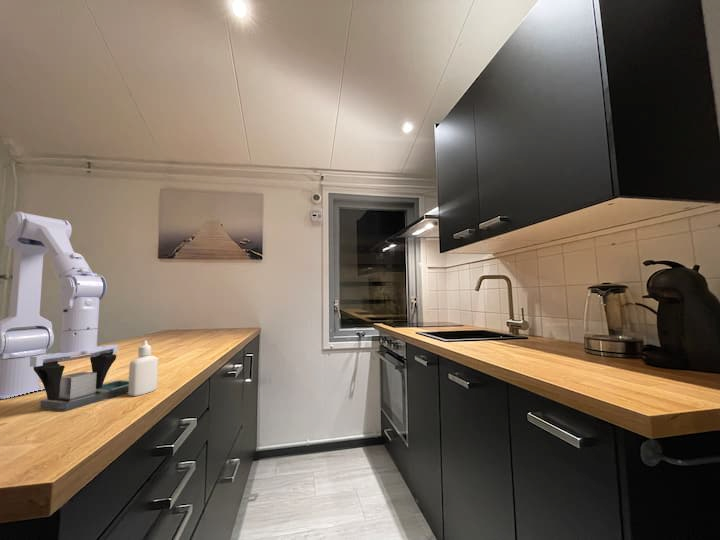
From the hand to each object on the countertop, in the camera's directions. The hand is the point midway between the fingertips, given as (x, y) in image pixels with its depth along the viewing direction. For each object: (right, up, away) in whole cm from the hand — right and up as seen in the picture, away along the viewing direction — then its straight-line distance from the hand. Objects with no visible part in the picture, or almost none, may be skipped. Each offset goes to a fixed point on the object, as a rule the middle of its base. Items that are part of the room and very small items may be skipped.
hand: (76, 393), depth 62 cm
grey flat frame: (+1, -2, +3) cm, 4 cm away
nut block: (0, -2, 0) cm, 2 cm away
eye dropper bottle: (+10, -2, +6) cm, 12 cm away
